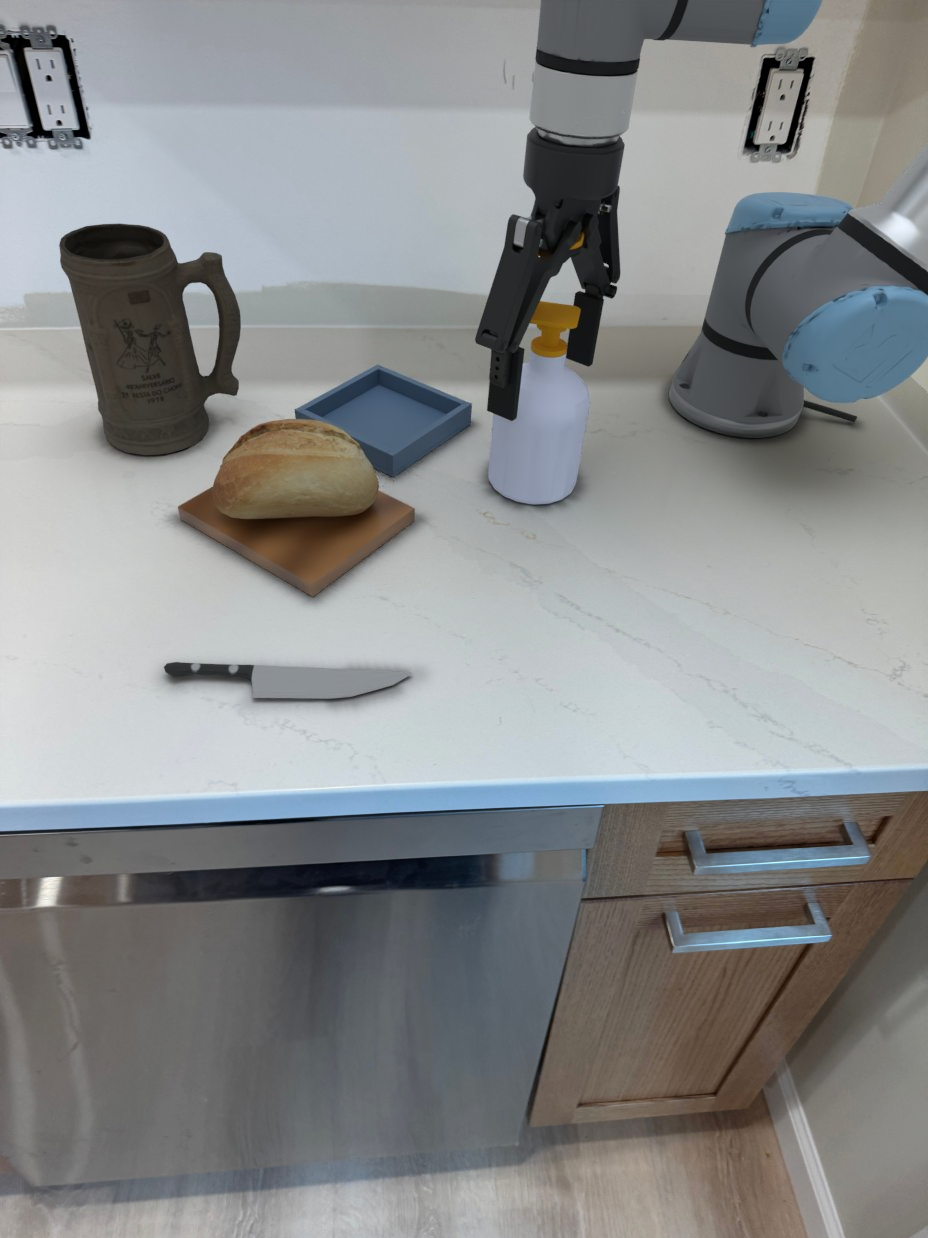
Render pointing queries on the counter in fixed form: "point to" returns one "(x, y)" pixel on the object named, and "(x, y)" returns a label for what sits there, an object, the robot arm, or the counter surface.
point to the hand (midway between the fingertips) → (542, 386)
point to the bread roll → (294, 473)
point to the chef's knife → (295, 679)
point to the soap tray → (390, 416)
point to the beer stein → (147, 334)
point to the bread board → (302, 538)
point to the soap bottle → (543, 417)
